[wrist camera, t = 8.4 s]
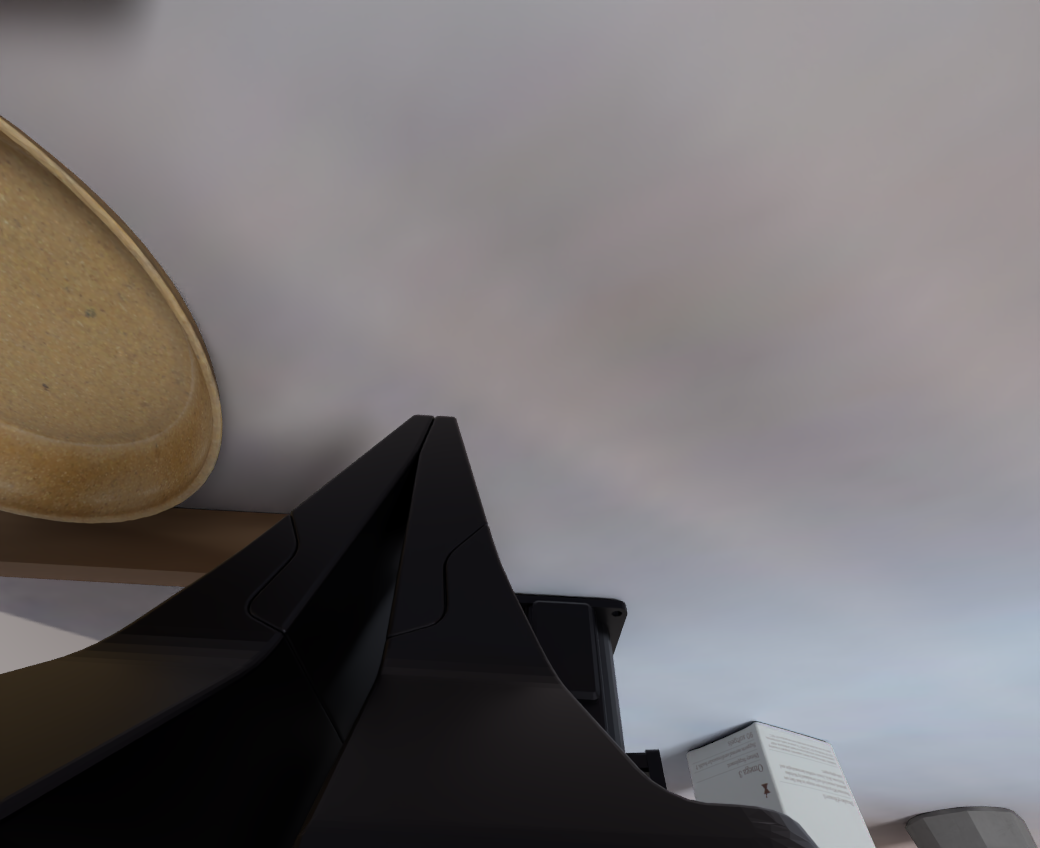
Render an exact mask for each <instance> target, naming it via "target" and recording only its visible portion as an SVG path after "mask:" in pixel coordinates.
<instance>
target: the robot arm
mask: <svg viewBox="0 0 1040 848" xmlns="http://www.w3.org/2000/svg"><path fill="white" fill-rule="evenodd" d="M626 616H627V608H626V604H625V603H624V602H622V601H618V600H600V599H583V598H565V597H547V596H529V595H515V593H514V591H513V589H512V587H511V585H510V582H509V580H508V578H507V576H506V573H505V571H504V569H503V567H502V564H501V562H500V559H499V556H498V553H497V550H496V547H495V545H494V542H493V539H492V535H491V532H490V529H489V526H488V523H487V519H486V516H485V513H484V509H483V506H482V503H481V499H480V496H479V493H478V490H477V486H476V483H475V480H474V476H473V473H472V470H471V466H470V463H469V460H468V456H467V453H466V450H465V446H464V443H463V440H462V437H461V433H460V430H459V427H458V423H457V420H456V418H455V417H449V416H437V417H435V418H434V416H430V415H414V416H412V417H411V418H410V419H408V420H407V421H406V422H405V423H403V424H402V425H401V426H400V427H398V428H397V429H396V430H394V431H393V432H392V433H391V434H389V435H388V436H387V437H386V438H384V439H383V440H382V441H380V442H379V443H378V444H377V445H375V446H374V447H373V448H372V449H370V450H369V451H368V452H366V453H365V454H364V455H363V456H361V457H360V458H359V459H358V460H356V461H355V462H354V463H352V464H351V465H350V466H349V467H347V468H346V469H345V470H344V471H342V472H341V473H340V474H338V475H337V476H336V477H335V478H333V479H332V480H331V481H330V482H328V483H327V484H326V485H324V486H323V487H322V488H321V489H319V490H318V491H317V492H316V493H314V494H313V495H312V496H310V497H309V498H308V499H307V500H305V501H304V502H303V503H302V504H300V505H299V506H298V507H296V508H295V509H294V510H293V511H291V515H286V516H285V517H283V518H282V519H281V520H280V521H278V522H277V523H276V524H275V525H273V526H272V527H271V528H269V529H268V530H267V531H265V532H264V533H263V534H261V535H260V536H259V537H257V538H256V539H255V540H253V541H252V542H251V543H249V544H248V545H247V546H245V547H244V548H243V549H241V550H240V551H238V552H237V553H235V554H234V555H233V556H231V557H230V558H228V559H227V560H225V561H224V562H222V563H221V564H219V565H218V566H217V567H215V568H214V569H212V570H211V571H209V572H208V573H206V574H205V575H203V576H202V577H200V578H199V579H197V580H196V581H194V582H193V583H191V584H190V585H188V586H187V587H185V588H184V589H182V590H181V591H179V592H178V593H176V594H175V595H173V596H172V597H170V598H169V599H167V600H166V601H164V602H163V603H161V604H160V605H158V606H157V607H155V608H153V609H152V610H150V611H149V612H147V613H146V614H144V615H143V616H141V617H140V618H138V619H137V620H135V621H134V622H132V623H131V624H129V625H128V626H126V627H124V628H123V629H121V630H120V631H118V632H116V633H115V634H113V635H111V636H109V637H107V638H105V639H104V640H102V641H100V642H98V643H96V644H94V645H91V646H89V647H87V648H85V649H83V650H80V651H78V652H75V653H72V654H70V655H67V656H64V657H61V658H57V659H54V660H51V661H47V662H43V663H40V664H36V665H33V666H29V667H25V668H22V669H18V670H14V671H11V672H7V673H3V674H0V848H819V847H818V846H817V845H816V843H815V842H814V841H813V840H812V839H811V837H810V836H809V835H808V834H807V832H806V831H805V830H804V829H803V828H802V826H801V825H800V824H799V823H798V822H796V821H795V820H793V819H792V818H790V817H789V816H787V815H786V814H783V813H780V812H778V811H775V810H772V809H767V808H762V807H757V806H748V805H738V804H721V803H706V802H700V801H695V800H689V799H686V798H684V797H682V796H679V795H677V794H674V793H672V792H669V791H668V790H667V788H666V783H665V778H664V773H663V768H662V763H661V758H660V753H659V750H645V753H625V748H624V740H623V732H622V724H621V716H620V708H619V700H618V693H617V685H616V677H615V669H614V661H613V654H614V651H615V648H616V645H617V643H618V640H619V637H620V634H621V631H622V628H623V625H624V622H625V619H626Z"/></svg>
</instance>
